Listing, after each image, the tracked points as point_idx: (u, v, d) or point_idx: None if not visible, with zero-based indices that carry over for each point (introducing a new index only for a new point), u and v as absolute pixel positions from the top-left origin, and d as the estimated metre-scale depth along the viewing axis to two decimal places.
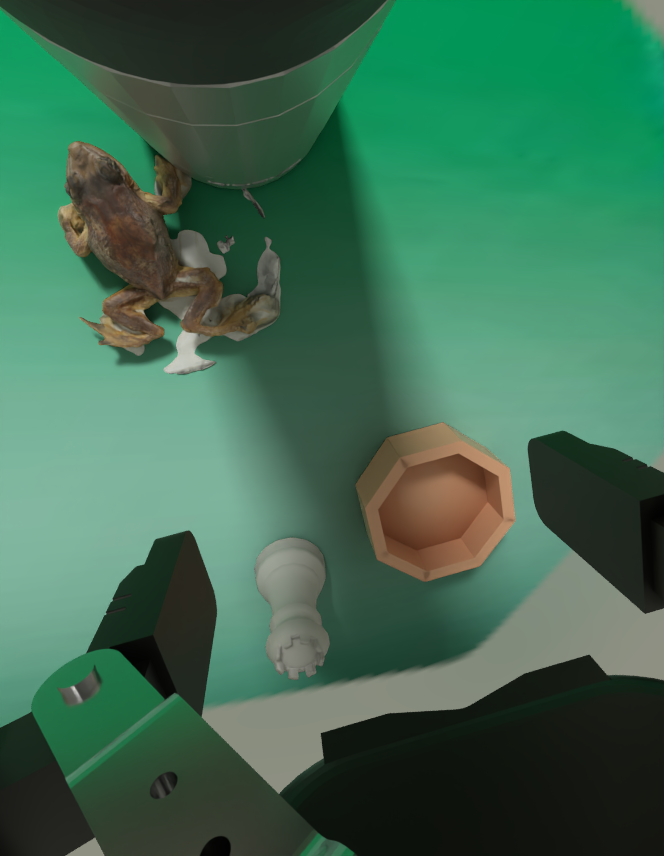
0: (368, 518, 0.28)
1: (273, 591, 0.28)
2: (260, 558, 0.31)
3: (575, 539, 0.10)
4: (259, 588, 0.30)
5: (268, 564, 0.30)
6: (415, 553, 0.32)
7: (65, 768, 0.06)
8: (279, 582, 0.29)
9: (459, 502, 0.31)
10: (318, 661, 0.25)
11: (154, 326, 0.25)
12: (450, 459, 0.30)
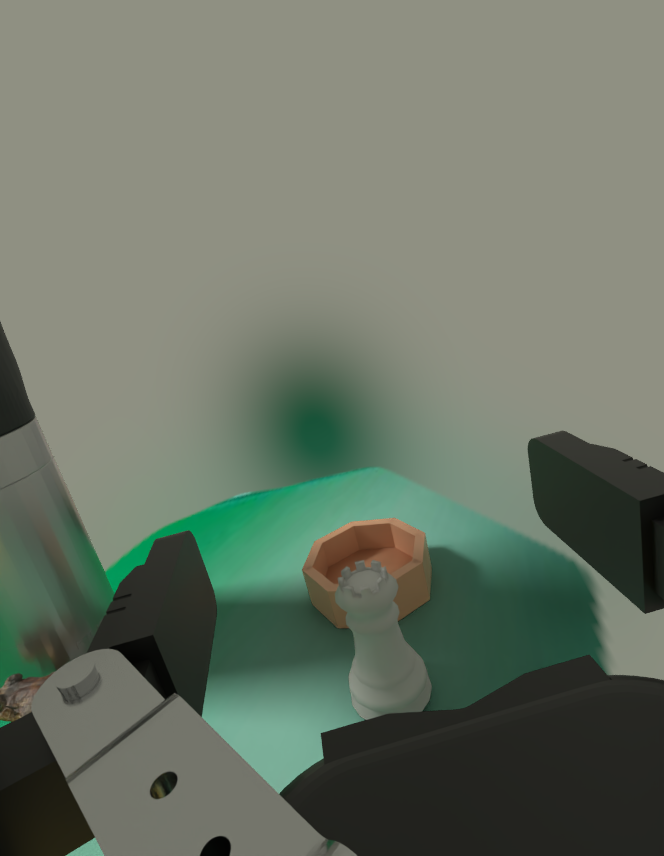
0: None
1: (359, 658, 0.26)
2: (361, 711, 0.26)
3: (575, 539, 0.10)
4: (379, 702, 0.25)
5: (353, 684, 0.27)
6: None
7: (66, 768, 0.06)
8: (355, 655, 0.26)
9: (386, 561, 0.38)
10: (373, 564, 0.26)
11: None
12: (346, 565, 0.39)
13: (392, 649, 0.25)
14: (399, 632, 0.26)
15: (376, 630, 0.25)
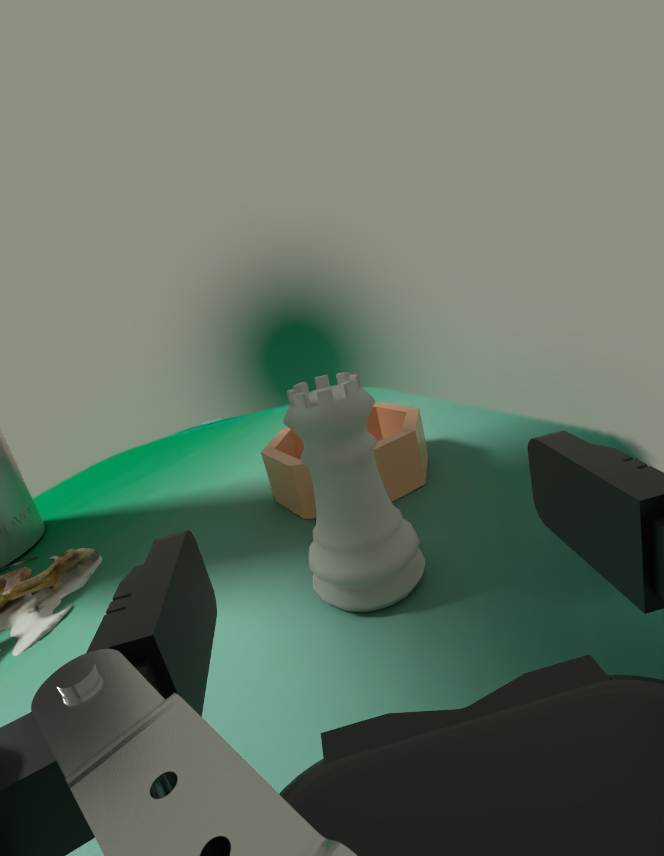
0: (302, 463, 0.25)
1: (320, 513, 0.18)
2: (324, 592, 0.18)
3: (575, 539, 0.10)
4: (348, 571, 0.17)
5: (313, 555, 0.19)
6: None
7: (65, 768, 0.06)
8: None
9: None
10: (339, 375, 0.18)
11: None
12: None
13: (366, 493, 0.17)
14: (378, 474, 0.18)
15: (342, 459, 0.17)
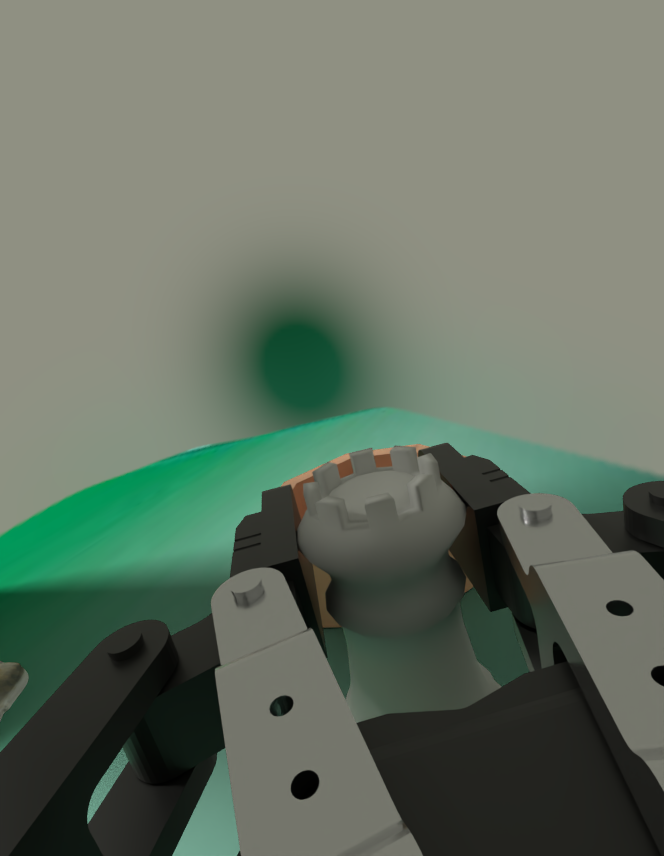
0: None
1: (360, 699, 0.10)
2: None
3: None
4: None
5: None
6: None
7: (223, 659, 0.07)
8: (352, 690, 0.11)
9: None
10: (397, 452, 0.10)
11: None
12: None
13: (448, 675, 0.09)
14: (464, 631, 0.10)
15: (409, 624, 0.09)
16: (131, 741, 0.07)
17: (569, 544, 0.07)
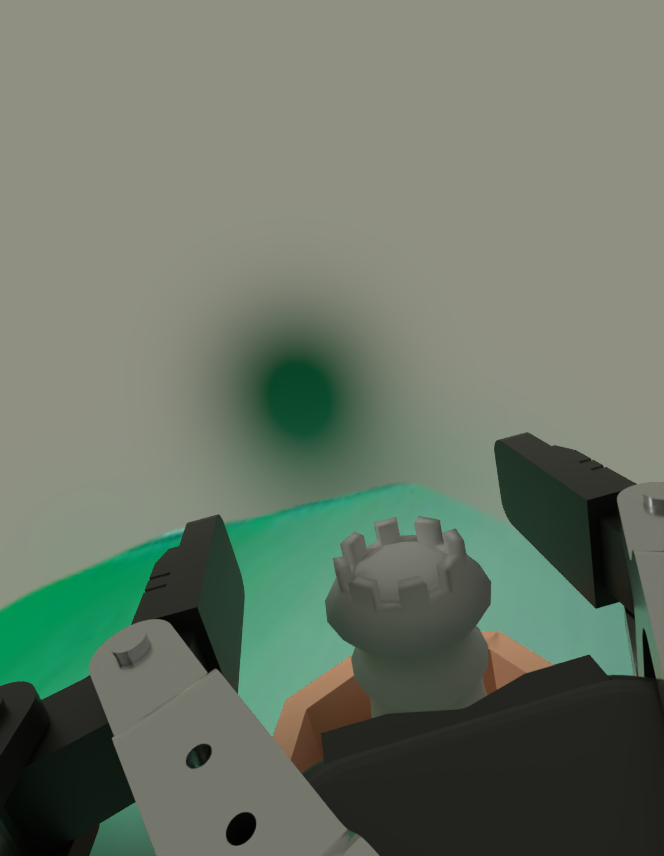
0: None
1: None
2: None
3: (536, 537, 0.11)
4: None
5: None
6: None
7: (114, 729, 0.06)
8: None
9: None
10: (422, 525, 0.10)
11: None
12: None
13: None
14: (485, 696, 0.10)
15: (438, 699, 0.09)
16: None
17: None
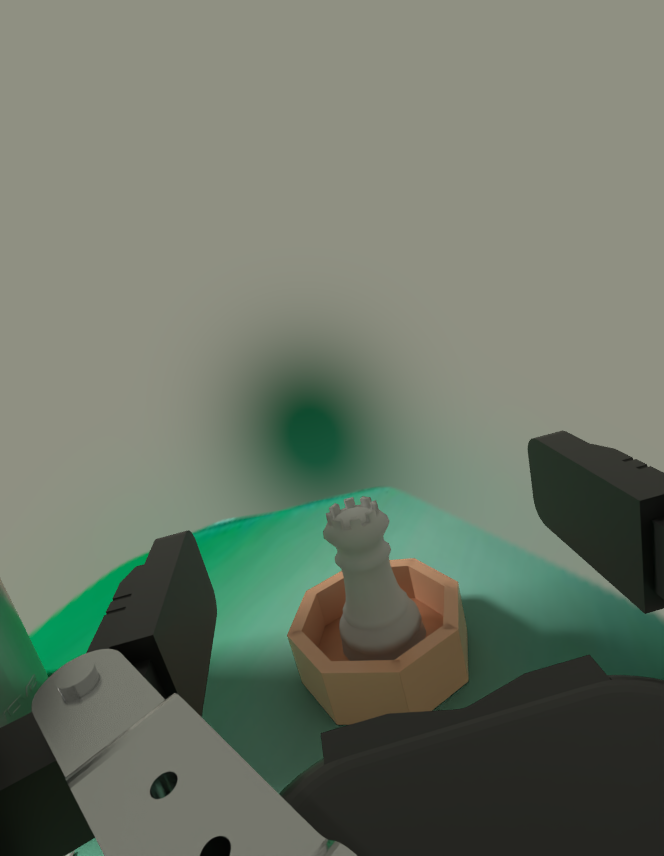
0: (336, 671, 0.22)
1: (349, 600, 0.25)
2: (352, 657, 0.25)
3: (575, 539, 0.10)
4: (371, 644, 0.24)
5: (343, 629, 0.25)
6: None
7: (66, 768, 0.06)
8: (346, 598, 0.25)
9: None
10: (363, 499, 0.25)
11: None
12: None
13: (383, 587, 0.24)
14: (391, 571, 0.25)
15: (367, 565, 0.23)
16: None
17: None
